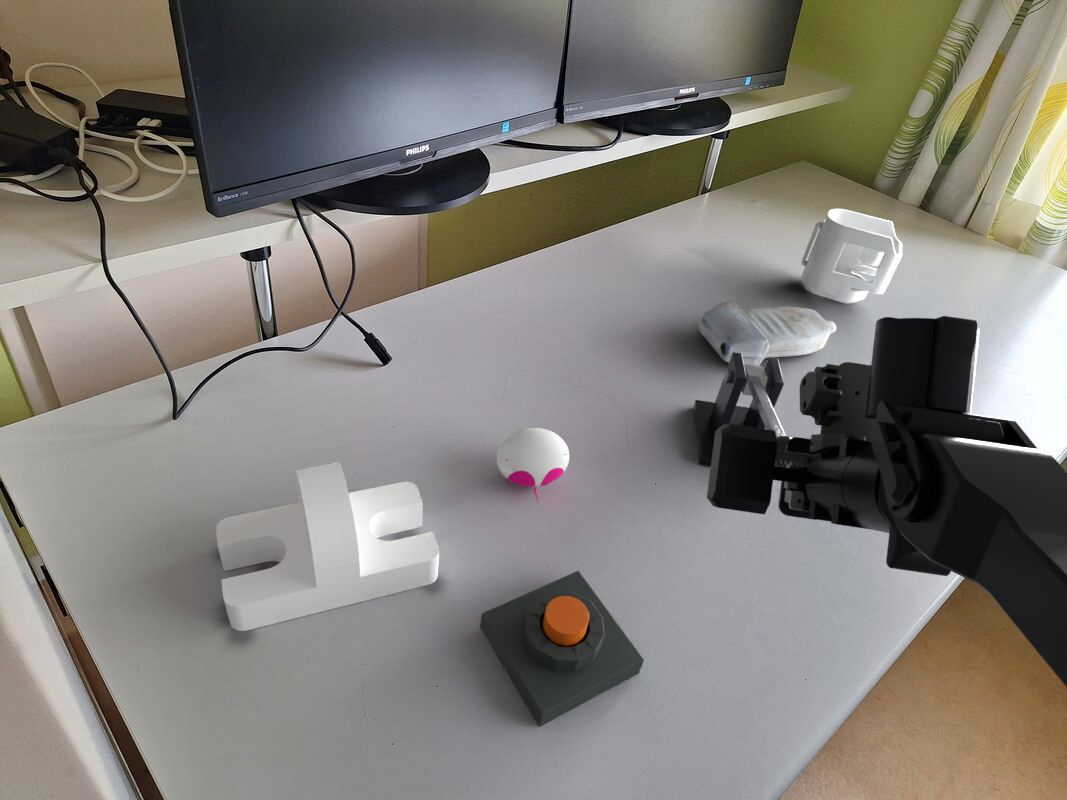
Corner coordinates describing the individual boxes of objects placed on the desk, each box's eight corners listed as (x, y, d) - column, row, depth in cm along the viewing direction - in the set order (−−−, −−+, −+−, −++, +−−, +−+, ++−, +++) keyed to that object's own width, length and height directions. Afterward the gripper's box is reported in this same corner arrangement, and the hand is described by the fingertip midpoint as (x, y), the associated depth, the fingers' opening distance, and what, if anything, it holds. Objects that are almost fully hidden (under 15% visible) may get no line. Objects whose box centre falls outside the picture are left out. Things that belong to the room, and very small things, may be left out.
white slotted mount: (441, 581, 69) (445, 503, 62) (231, 634, 63) (209, 553, 56) (414, 504, 76) (415, 425, 69) (221, 545, 69) (200, 463, 62)
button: (594, 635, 63) (597, 623, 61) (557, 653, 61) (560, 641, 60) (570, 601, 65) (573, 589, 64) (534, 618, 63) (537, 606, 62)
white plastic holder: (874, 314, 113) (909, 243, 105) (791, 290, 115) (819, 219, 108) (875, 293, 118) (909, 223, 110) (795, 271, 120) (823, 201, 113)
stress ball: (497, 512, 80) (505, 505, 74) (489, 438, 82) (497, 425, 76) (566, 505, 82) (580, 498, 75) (557, 433, 83) (570, 419, 77)
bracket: (769, 475, 84) (803, 403, 77) (698, 465, 84) (725, 391, 77) (758, 416, 92) (787, 345, 85) (692, 406, 92) (716, 334, 85)
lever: (799, 477, 68) (809, 449, 67) (766, 472, 68) (776, 444, 67) (760, 388, 84) (767, 364, 83) (733, 384, 84) (740, 360, 83)
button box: (639, 673, 64) (649, 647, 62) (539, 727, 60) (545, 702, 57) (574, 584, 71) (581, 557, 68) (479, 627, 66) (482, 600, 63)
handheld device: (851, 356, 104) (864, 329, 101) (725, 375, 98) (735, 346, 95) (810, 316, 111) (822, 289, 107) (690, 332, 104) (698, 303, 101)
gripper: (1041, 384, 50) (917, 401, 65) (757, 343, 50) (702, 369, 65) (1024, 556, 49) (903, 531, 64) (736, 514, 49) (685, 499, 64)
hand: (798, 478), depth 65 cm, fingers closed
